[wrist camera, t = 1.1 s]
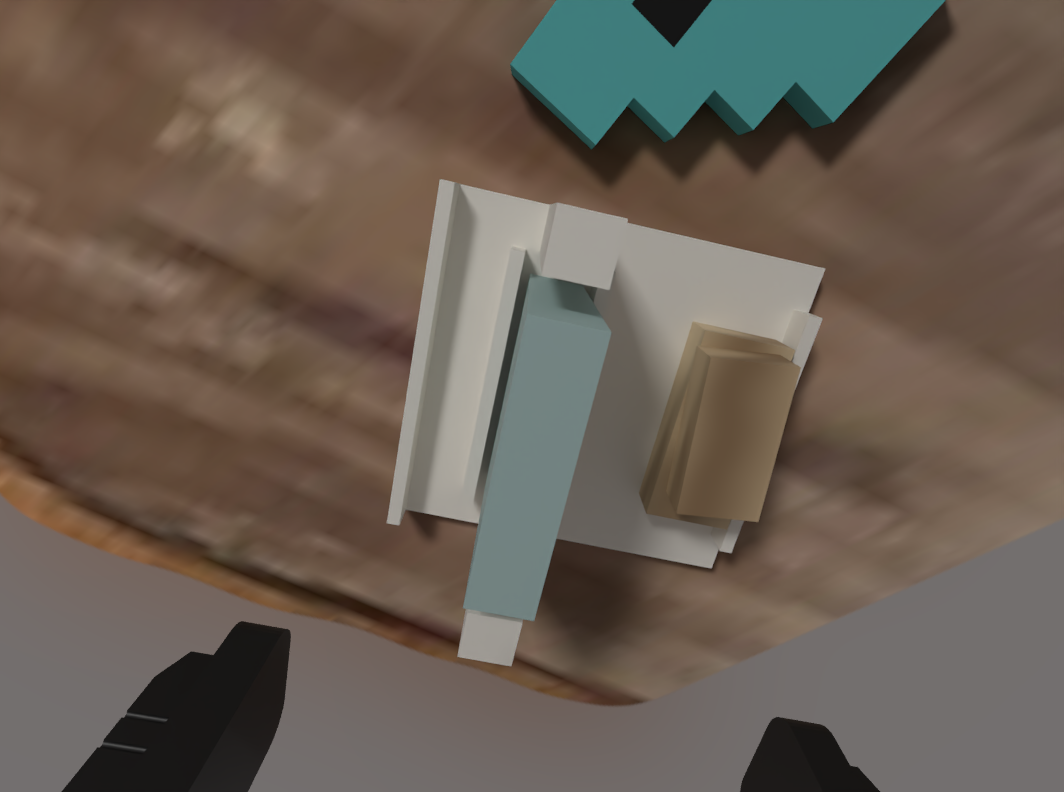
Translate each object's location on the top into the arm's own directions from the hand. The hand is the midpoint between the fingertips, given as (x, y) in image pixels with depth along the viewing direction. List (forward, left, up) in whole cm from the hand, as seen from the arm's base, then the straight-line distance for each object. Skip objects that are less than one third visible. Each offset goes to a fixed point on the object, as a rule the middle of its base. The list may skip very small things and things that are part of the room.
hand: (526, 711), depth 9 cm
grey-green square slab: (0, 0, -18) cm, 18 cm away
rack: (-3, 0, -19) cm, 19 cm away
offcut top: (-9, 0, -16) cm, 18 cm away
